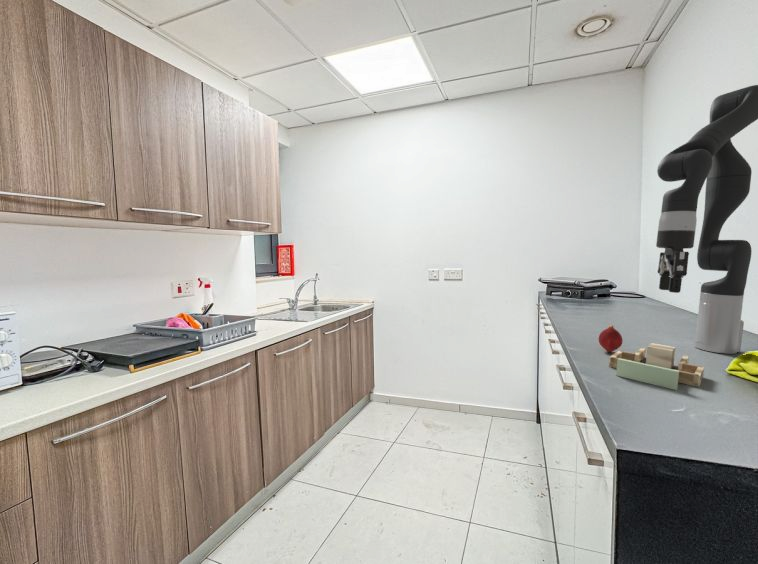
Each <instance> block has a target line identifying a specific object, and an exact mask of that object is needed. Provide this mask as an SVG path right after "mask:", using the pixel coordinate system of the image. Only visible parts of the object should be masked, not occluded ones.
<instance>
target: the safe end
mask: <svg viewBox="0 0 758 564" xmlns="http://www.w3.org/2000/svg"><path fill="white" fill-rule="evenodd" d="M615 373H616V374H615V375H616V376H617V377H622V378H626V379H628V380H634V381H637V382H642V383H646V384H650V385H654V386H658V387H661V388H667V389H670V390H675V391H678V387H679V386H678V385H679V382H678V378H679V371H678V369H673V368H671V369H668V368H663V367H658V366H654V365H649V364H646V363H643V362H634V361H629V360H625V359H620V358H618V360H617V368H616V372H615Z"/></svg>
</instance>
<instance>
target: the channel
mask: <svg viewBox="0 0 758 564" xmlns="http://www.w3.org/2000/svg"><path fill="white" fill-rule="evenodd" d="M646 352H647V348H644V347H641V348H639V349H638V350H637V351H635V352H629V351H625V350H618V351H616V352H614V353H613V354H611V355H610V356H609V358H608V368H613V369H617V360H618V358H620V359H625V360H629V361H634V362H639V363H641V362H642V361H643V360H644V359H646ZM643 358H644V359H643ZM642 359H643V360H642ZM641 360H642V361H641ZM689 360H690V359H689V356H688V355H683V356H682V357H681V358H680V360H679V362H678V363H677V364H678V366H677V370H678V371H679V378H678V384H684V385H689V386H693V387H697V388H699V387H700V386H701V382H702V381H703V378H704V371H705V367H704V366H701V365H696V364H691V363H689ZM640 361H641V362H640Z"/></svg>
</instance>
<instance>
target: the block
mask: <svg viewBox="0 0 758 564" xmlns="http://www.w3.org/2000/svg"><path fill="white" fill-rule="evenodd" d="M676 348H677V347H676V346H671V345H666V344H665V345H664V344H659V343H653V342H652V343H649V345H647V348H646V355H645V364H649V365H654V366H658V367H663V368H668V369H673V367H674V365H675V357H676Z"/></svg>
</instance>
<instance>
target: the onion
mask: <svg viewBox="0 0 758 564" xmlns="http://www.w3.org/2000/svg"><path fill="white" fill-rule="evenodd" d="M598 343H599V346H601V347H602V348H603V349H604V350H605V351H606V352H608V353H612V352H614V351H616V350H618V349H619V348H620V347H621V346H622V344H623V336H622V335H621V333H620V332H619V331H618V330H617V329H616V328H615V327H614V325H612V324H610V325H609V326H608V327H607V328H606V329H603V330H602V331H601V332H600V334H599V335H598Z"/></svg>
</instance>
